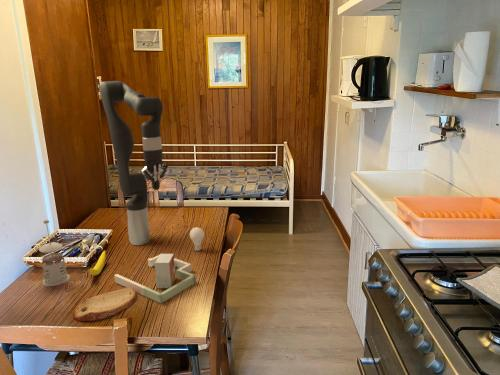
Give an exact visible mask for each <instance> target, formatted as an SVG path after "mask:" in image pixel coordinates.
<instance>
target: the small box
mask: <svg viewBox="0 0 500 375" xmlns="http://www.w3.org/2000/svg"><path fill="white" fill-rule="evenodd" d="M158 255H159V257H158V258H157V260H156V262H155V263H154V264H155V266H154V273H155V283H156V289H169V288H171V287H172V286H174V283H175V281H176V278H177V275H176V274H175V262H174V258H175V254H174V253H159V254H158Z"/></svg>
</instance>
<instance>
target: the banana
mask: <svg viewBox="0 0 500 375" xmlns="http://www.w3.org/2000/svg"><path fill="white" fill-rule="evenodd" d="M106 254H107V253H106V250H103V251H102V253H101V254H100V256H99V257H98V260H97V262H96V264H95V266H94V267H93V268H90V267H88V268H87V272H88V273H89V275H92V276H98V275H100V274H101V273H102V271H103V268H104V266H105V261H106V257H107V256H106Z"/></svg>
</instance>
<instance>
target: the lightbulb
mask: <svg viewBox="0 0 500 375" xmlns="http://www.w3.org/2000/svg"><path fill="white" fill-rule="evenodd" d="M204 236H205V232H204V230H203V229H202V228H201V227H198V226H197V227H196V226H195V227H193V228H192V229H191V230H190V231H189V237H190V239H191V241H192V243H193V245H194V250H195V251H197V252H199V251H200V250H202V249H201V248H202V247H201V244H202V240H203V239H204Z"/></svg>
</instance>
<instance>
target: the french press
mask: <svg viewBox="0 0 500 375" xmlns="http://www.w3.org/2000/svg"><path fill="white" fill-rule="evenodd" d="M49 223H50V220H49V219H44V220H43V224H46V230H47V236H48V241H49V242H48V243H45V244H42V246H40V247H39V248H38V251H39V252H40V253H41V254H42V253H44V254H46V255H44V256H43V257H42V258H41V260H42V262H41V267H42V273H43V278H44V279H43V281H42V282H41V283H42V285H44V286H47V287H55V286H59V285H62V284H65V283H66V282H68V281H69V280H70V278H71V276H70V275H69V274H68V273H67V268H66V262H65V261H66V260H65V258H64V257H63V256H64V255H63V253H58V252H57V251H60V250H61V249H62V248H63V244H62V243H59V242H55V241H53V242H51V240H50V234H49V228H48V224H49Z"/></svg>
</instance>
